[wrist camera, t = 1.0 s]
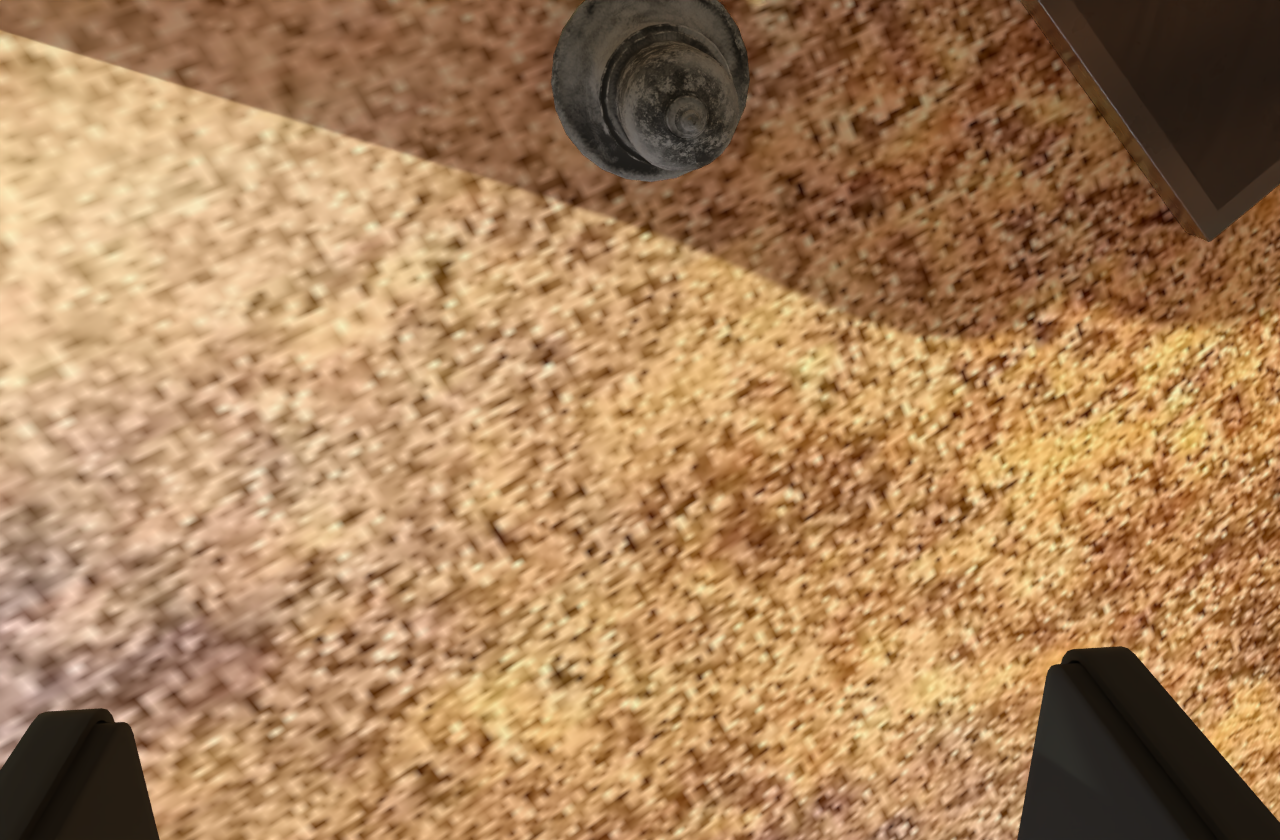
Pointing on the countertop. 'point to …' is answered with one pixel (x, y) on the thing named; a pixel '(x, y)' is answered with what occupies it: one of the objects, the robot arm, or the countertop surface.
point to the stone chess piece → (650, 84)
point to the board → (1182, 94)
